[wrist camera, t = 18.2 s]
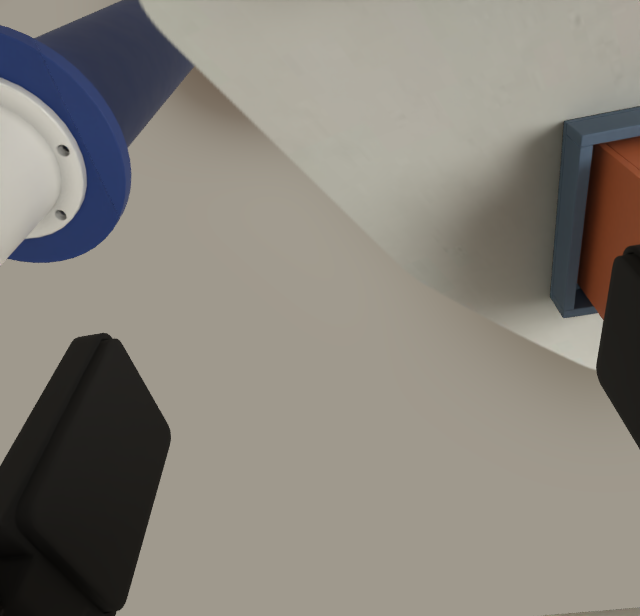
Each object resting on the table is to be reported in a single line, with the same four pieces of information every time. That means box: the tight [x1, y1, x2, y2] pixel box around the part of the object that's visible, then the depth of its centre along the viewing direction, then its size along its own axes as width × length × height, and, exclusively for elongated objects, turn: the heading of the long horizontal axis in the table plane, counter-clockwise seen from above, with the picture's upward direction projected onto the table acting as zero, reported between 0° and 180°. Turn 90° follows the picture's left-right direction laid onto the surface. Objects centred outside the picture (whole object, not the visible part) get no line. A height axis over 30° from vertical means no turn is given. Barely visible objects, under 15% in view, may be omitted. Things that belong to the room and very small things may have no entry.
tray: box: [550, 106, 640, 318], centre depth 38 cm, size 15×11×3 cm
